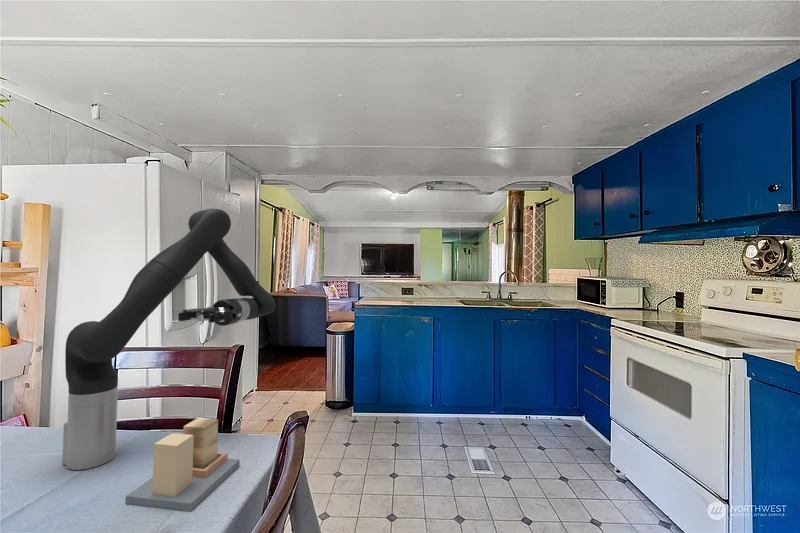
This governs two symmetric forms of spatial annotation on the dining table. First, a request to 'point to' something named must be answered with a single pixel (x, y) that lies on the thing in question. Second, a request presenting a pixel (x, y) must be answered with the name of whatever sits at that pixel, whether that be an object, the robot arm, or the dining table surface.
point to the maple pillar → (203, 441)
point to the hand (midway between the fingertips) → (194, 317)
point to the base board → (186, 494)
